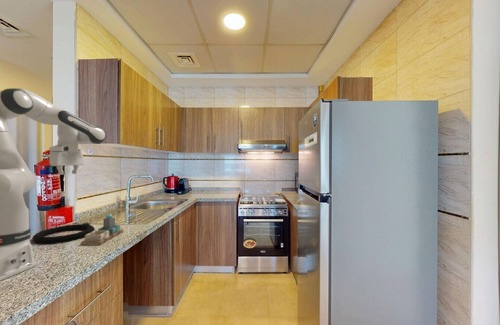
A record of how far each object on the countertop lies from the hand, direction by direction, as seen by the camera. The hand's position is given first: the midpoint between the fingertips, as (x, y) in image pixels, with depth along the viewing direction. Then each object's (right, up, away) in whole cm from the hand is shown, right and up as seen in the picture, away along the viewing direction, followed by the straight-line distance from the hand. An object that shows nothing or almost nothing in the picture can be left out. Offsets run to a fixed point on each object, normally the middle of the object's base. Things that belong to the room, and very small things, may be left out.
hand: (68, 174), depth 127 cm
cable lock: (-6, -36, +7) cm, 37 cm away
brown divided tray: (+18, -35, +2) cm, 40 cm away
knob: (+18, -34, +7) cm, 39 cm away
